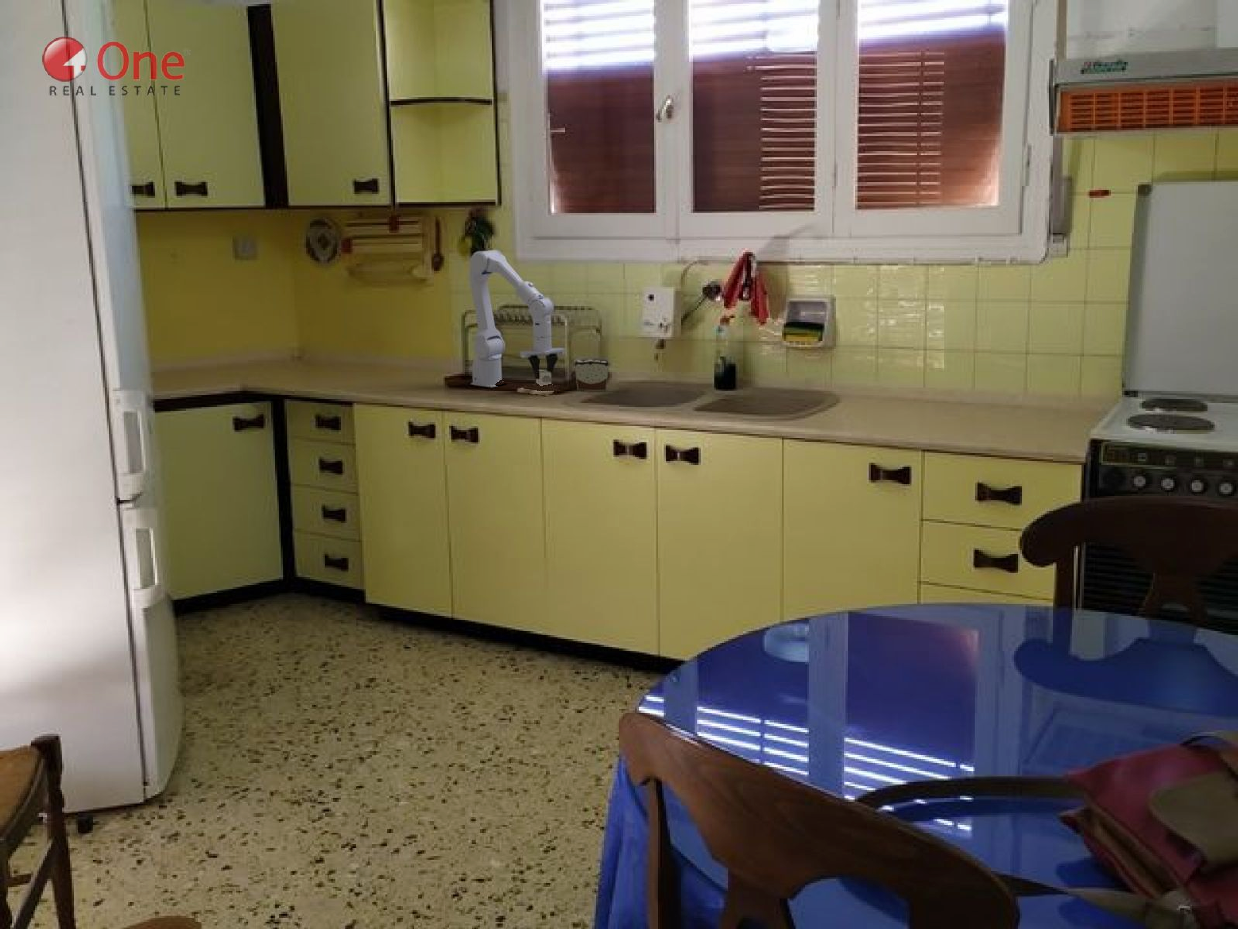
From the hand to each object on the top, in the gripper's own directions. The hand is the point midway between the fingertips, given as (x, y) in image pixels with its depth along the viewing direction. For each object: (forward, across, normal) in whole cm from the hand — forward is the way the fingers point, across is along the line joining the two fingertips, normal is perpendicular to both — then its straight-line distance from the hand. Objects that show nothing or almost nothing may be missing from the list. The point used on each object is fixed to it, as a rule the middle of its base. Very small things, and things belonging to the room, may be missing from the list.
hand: (543, 378), depth 379 cm
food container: (+4, +16, -4) cm, 17 cm away
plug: (+2, 0, 0) cm, 2 cm away
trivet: (+4, 0, 0) cm, 4 cm away
